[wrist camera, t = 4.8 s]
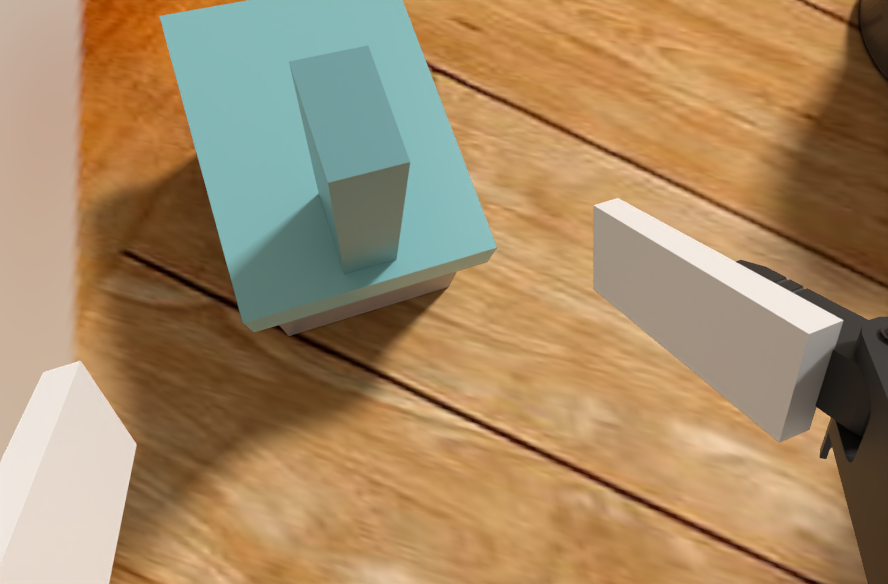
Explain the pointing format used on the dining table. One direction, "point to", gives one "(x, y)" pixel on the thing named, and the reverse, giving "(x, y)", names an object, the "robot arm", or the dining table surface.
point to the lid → (323, 153)
